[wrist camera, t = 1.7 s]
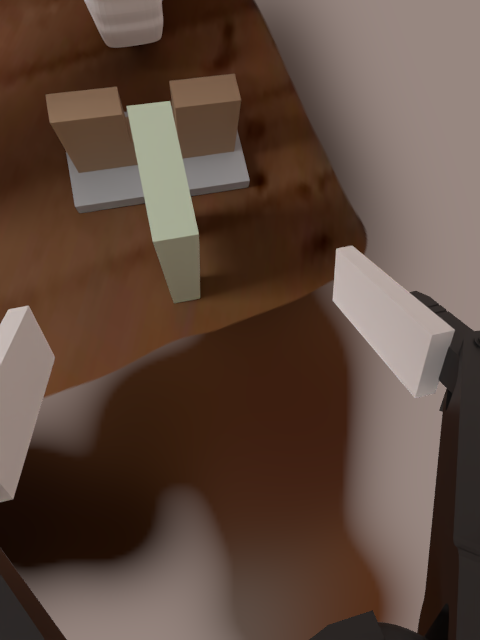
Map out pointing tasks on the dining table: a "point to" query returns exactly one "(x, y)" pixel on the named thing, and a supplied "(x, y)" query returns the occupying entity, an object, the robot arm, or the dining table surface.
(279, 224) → the dining table surface
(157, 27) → the white ridged rounded piece
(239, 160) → the brown grey slotted block
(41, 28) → the dining table surface
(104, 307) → the dining table surface
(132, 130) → the green plank
